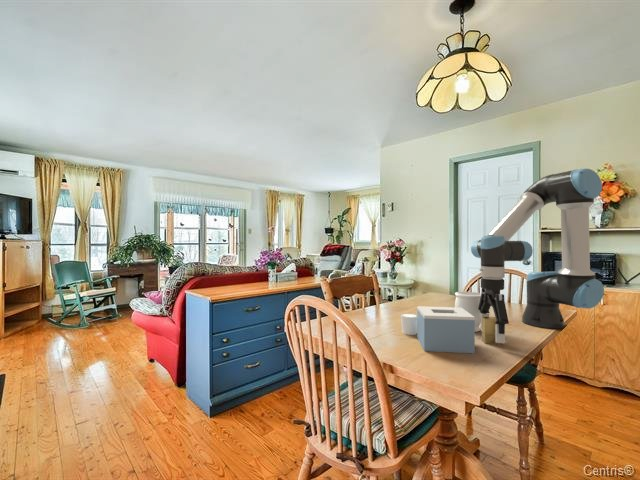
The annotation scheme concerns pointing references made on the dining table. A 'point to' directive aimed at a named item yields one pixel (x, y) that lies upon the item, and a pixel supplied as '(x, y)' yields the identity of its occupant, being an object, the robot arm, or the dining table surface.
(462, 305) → the jar
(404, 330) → the white cylinder
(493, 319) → the wooden rectangular block
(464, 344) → the box
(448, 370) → the dining table surface
